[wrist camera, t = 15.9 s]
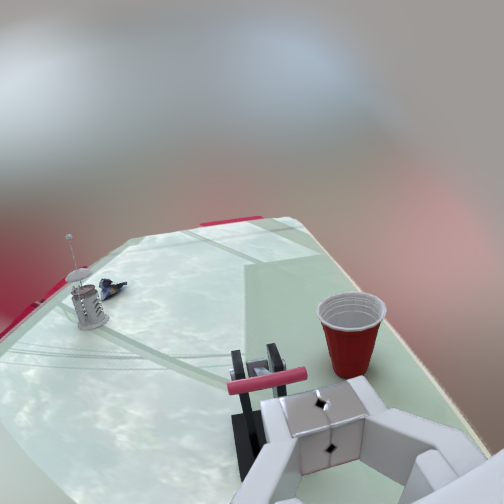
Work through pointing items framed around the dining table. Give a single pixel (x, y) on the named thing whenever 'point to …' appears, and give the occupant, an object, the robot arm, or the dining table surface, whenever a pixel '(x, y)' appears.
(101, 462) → the dining table surface
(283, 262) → the dining table surface
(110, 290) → the snack package
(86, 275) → the french press
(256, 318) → the dining table surface
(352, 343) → the plastic cup
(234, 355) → the bracket
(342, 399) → the robot arm
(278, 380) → the lever
